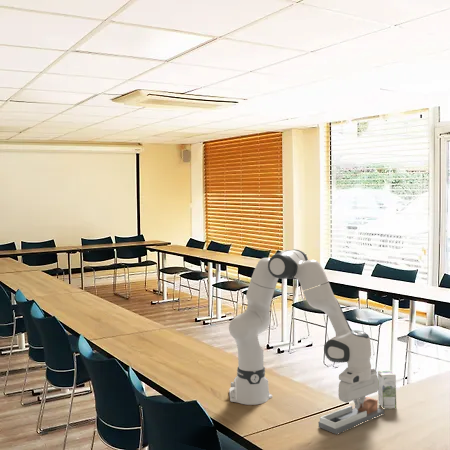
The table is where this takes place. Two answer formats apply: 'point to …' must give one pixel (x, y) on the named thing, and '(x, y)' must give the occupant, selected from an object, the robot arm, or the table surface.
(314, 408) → the table surface
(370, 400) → the block
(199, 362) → the table surface
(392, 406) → the syrup box
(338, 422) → the channel
